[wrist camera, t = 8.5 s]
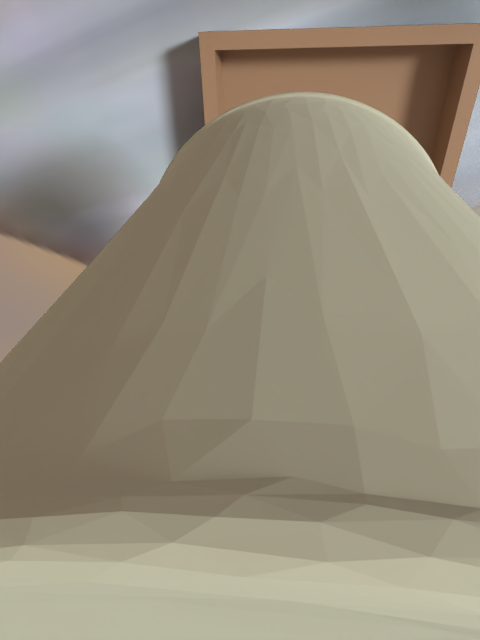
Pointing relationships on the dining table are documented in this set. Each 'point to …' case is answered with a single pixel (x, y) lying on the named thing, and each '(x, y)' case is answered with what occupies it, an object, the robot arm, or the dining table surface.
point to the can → (256, 400)
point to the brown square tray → (356, 75)
